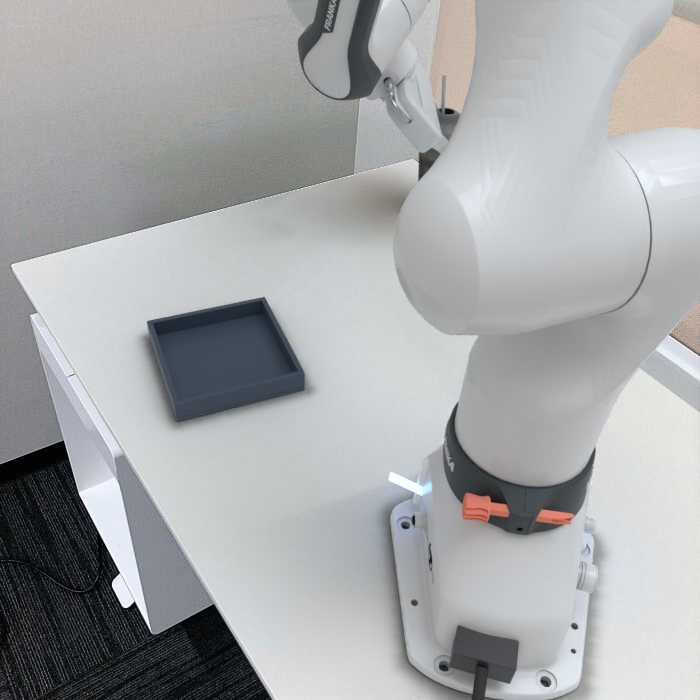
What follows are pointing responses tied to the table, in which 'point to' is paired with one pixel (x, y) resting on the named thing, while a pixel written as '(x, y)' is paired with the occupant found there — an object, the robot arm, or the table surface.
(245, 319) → the tray
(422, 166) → the beverage cup
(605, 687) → the table surface
